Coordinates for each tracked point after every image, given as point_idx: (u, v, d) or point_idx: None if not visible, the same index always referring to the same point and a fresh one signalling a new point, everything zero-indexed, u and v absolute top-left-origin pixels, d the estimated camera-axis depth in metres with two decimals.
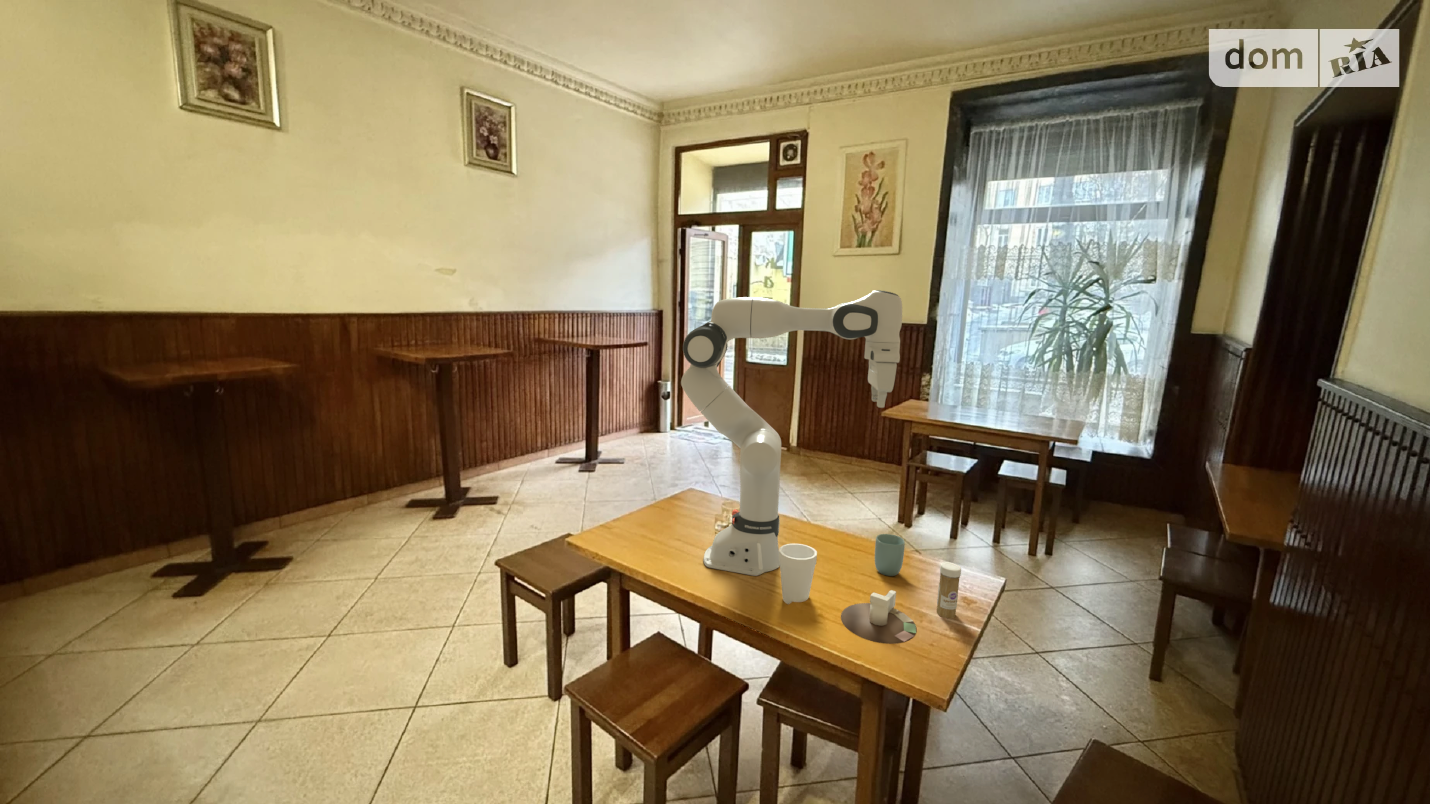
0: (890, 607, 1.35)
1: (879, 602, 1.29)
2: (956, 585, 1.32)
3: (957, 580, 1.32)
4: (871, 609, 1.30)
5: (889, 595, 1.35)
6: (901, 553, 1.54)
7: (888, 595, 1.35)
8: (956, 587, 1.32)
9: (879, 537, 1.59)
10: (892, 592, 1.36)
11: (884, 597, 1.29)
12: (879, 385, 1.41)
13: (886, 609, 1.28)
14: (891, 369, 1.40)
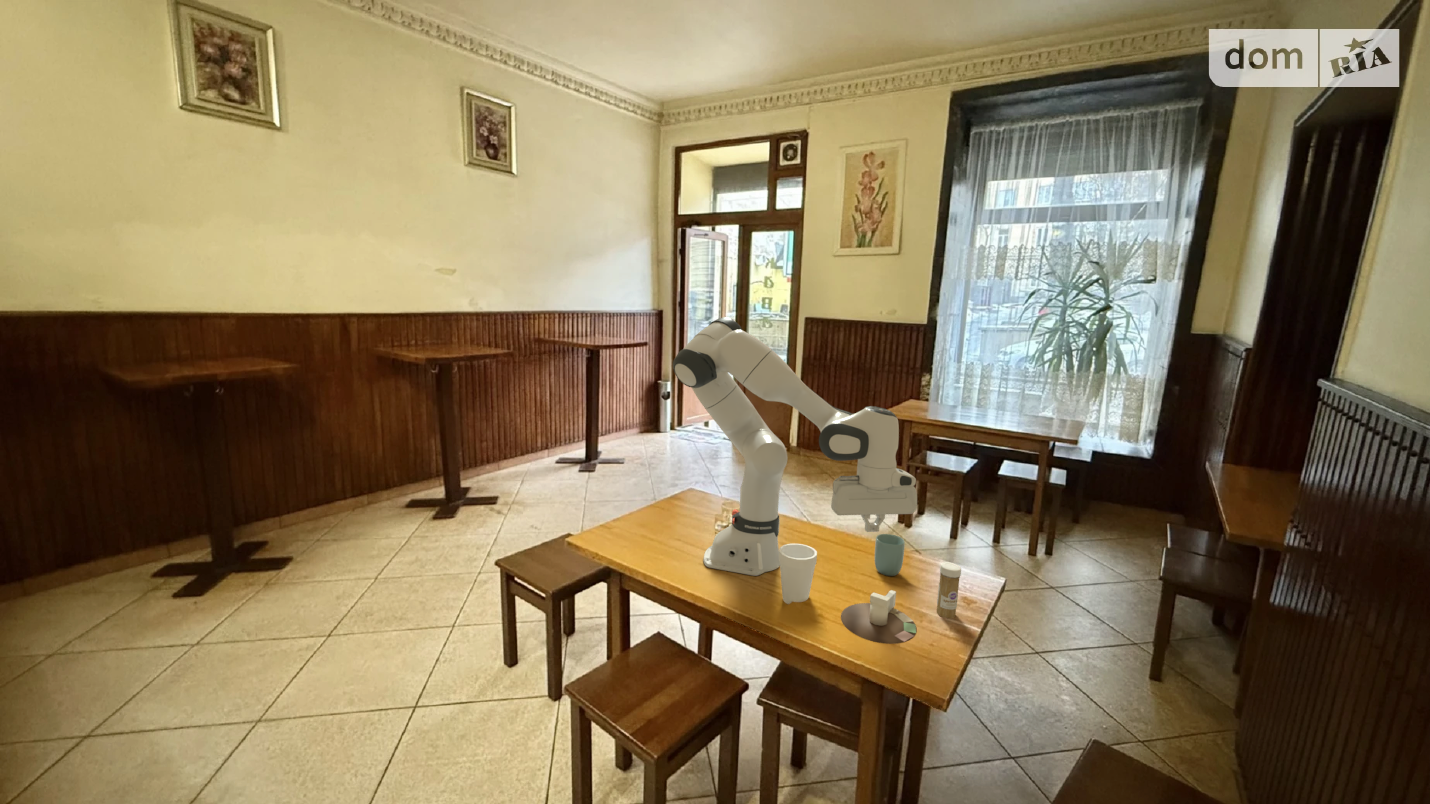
0: (890, 607, 1.35)
1: (879, 602, 1.29)
2: (956, 585, 1.32)
3: (957, 580, 1.32)
4: (871, 609, 1.30)
5: (889, 595, 1.35)
6: (901, 553, 1.54)
7: (888, 595, 1.35)
8: (956, 587, 1.32)
9: (879, 537, 1.59)
10: (892, 592, 1.36)
11: (884, 597, 1.29)
12: None
13: (886, 609, 1.28)
14: None
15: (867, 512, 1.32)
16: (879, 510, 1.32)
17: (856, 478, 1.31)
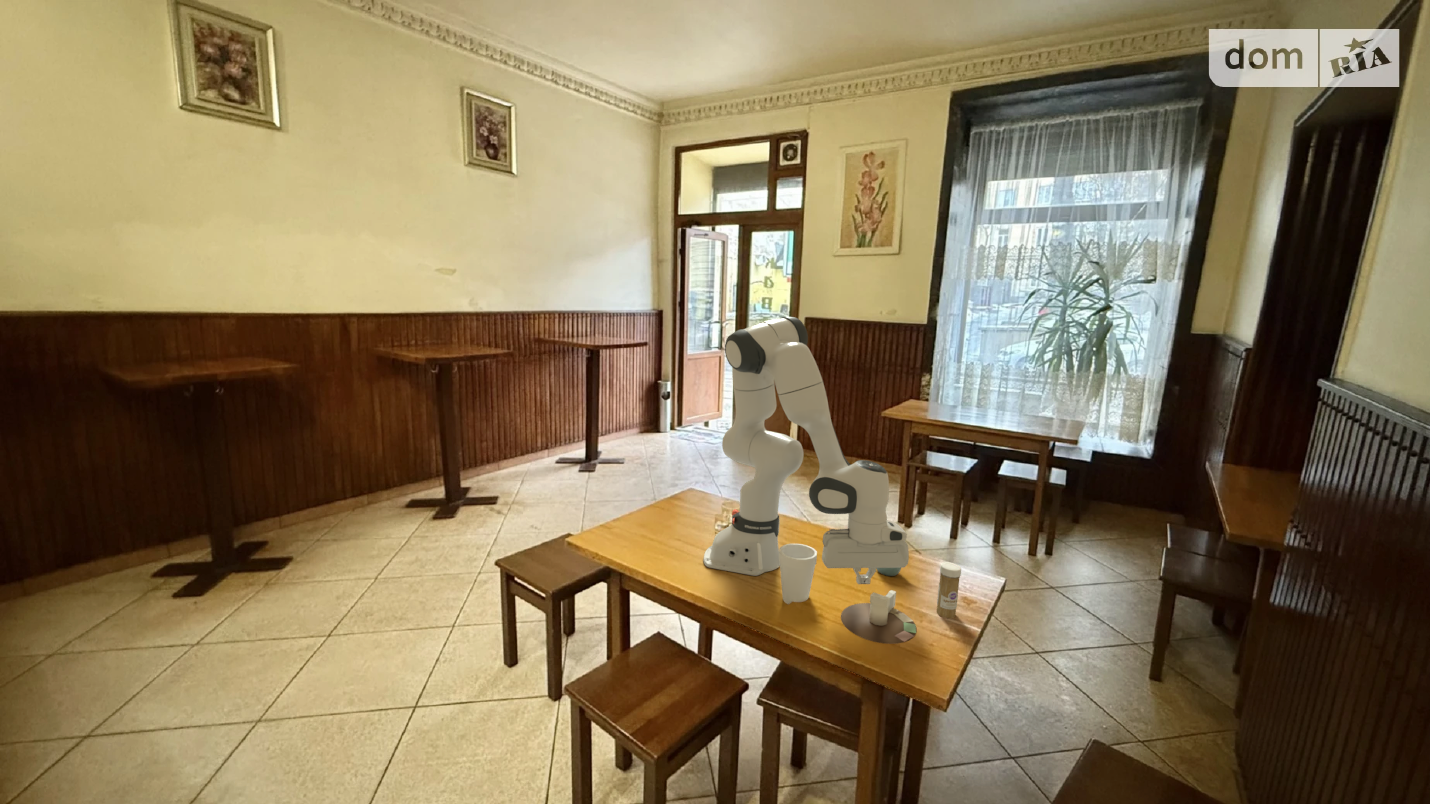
0: (890, 607, 1.35)
1: (879, 602, 1.29)
2: (956, 585, 1.32)
3: (957, 580, 1.32)
4: (871, 609, 1.30)
5: (889, 595, 1.35)
6: None
7: (888, 595, 1.35)
8: (956, 587, 1.32)
9: None
10: (892, 592, 1.36)
11: (884, 597, 1.29)
12: None
13: (886, 609, 1.28)
14: None
15: (857, 565, 1.32)
16: (869, 564, 1.32)
17: (846, 532, 1.32)
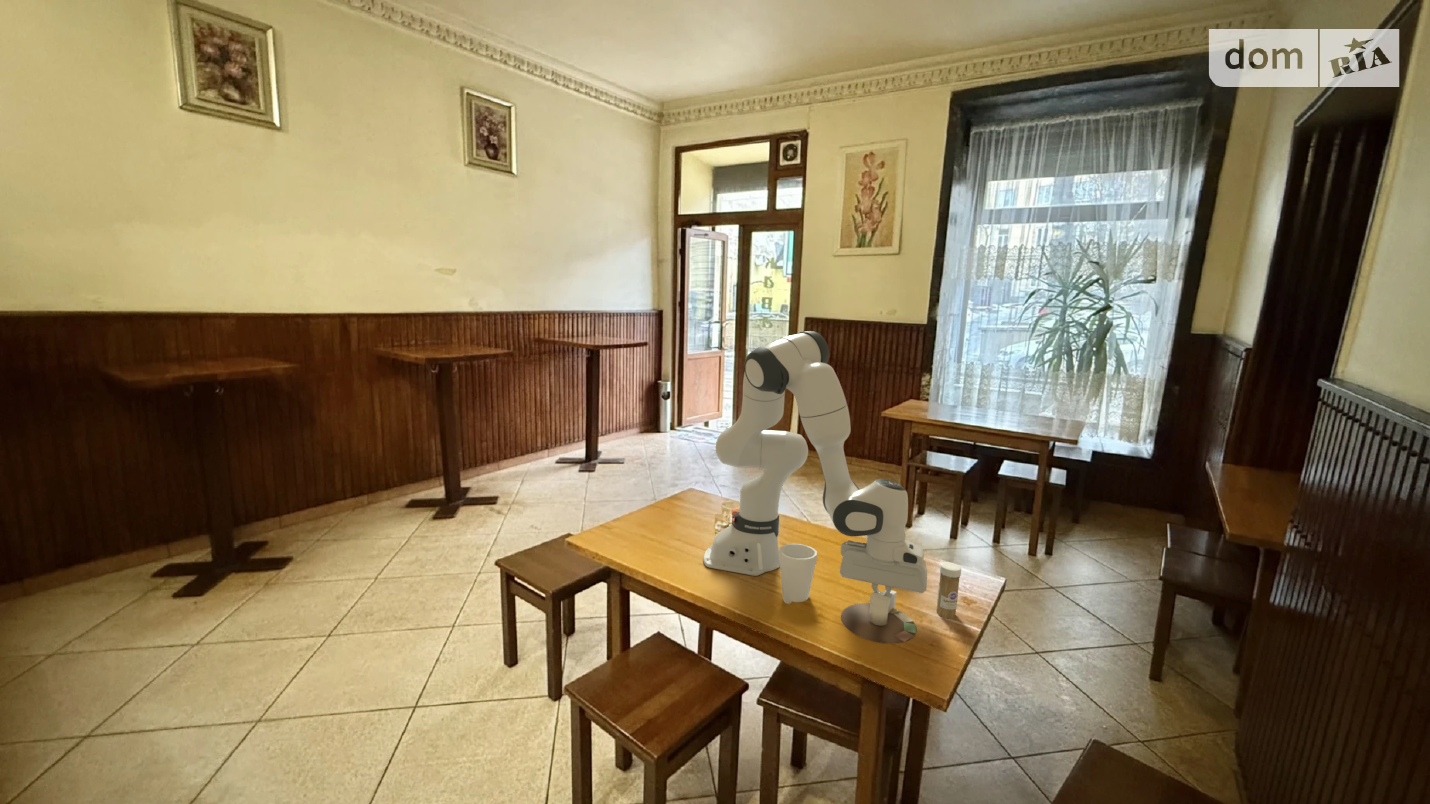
0: (890, 607, 1.35)
1: (879, 602, 1.29)
2: (956, 585, 1.32)
3: (957, 580, 1.32)
4: (871, 609, 1.30)
5: (890, 595, 1.35)
6: None
7: (888, 595, 1.35)
8: (956, 587, 1.32)
9: None
10: (893, 592, 1.36)
11: (884, 597, 1.29)
12: (926, 587, 1.30)
13: (886, 609, 1.28)
14: (925, 565, 1.33)
15: (872, 581, 1.35)
16: (884, 581, 1.34)
17: (863, 545, 1.36)
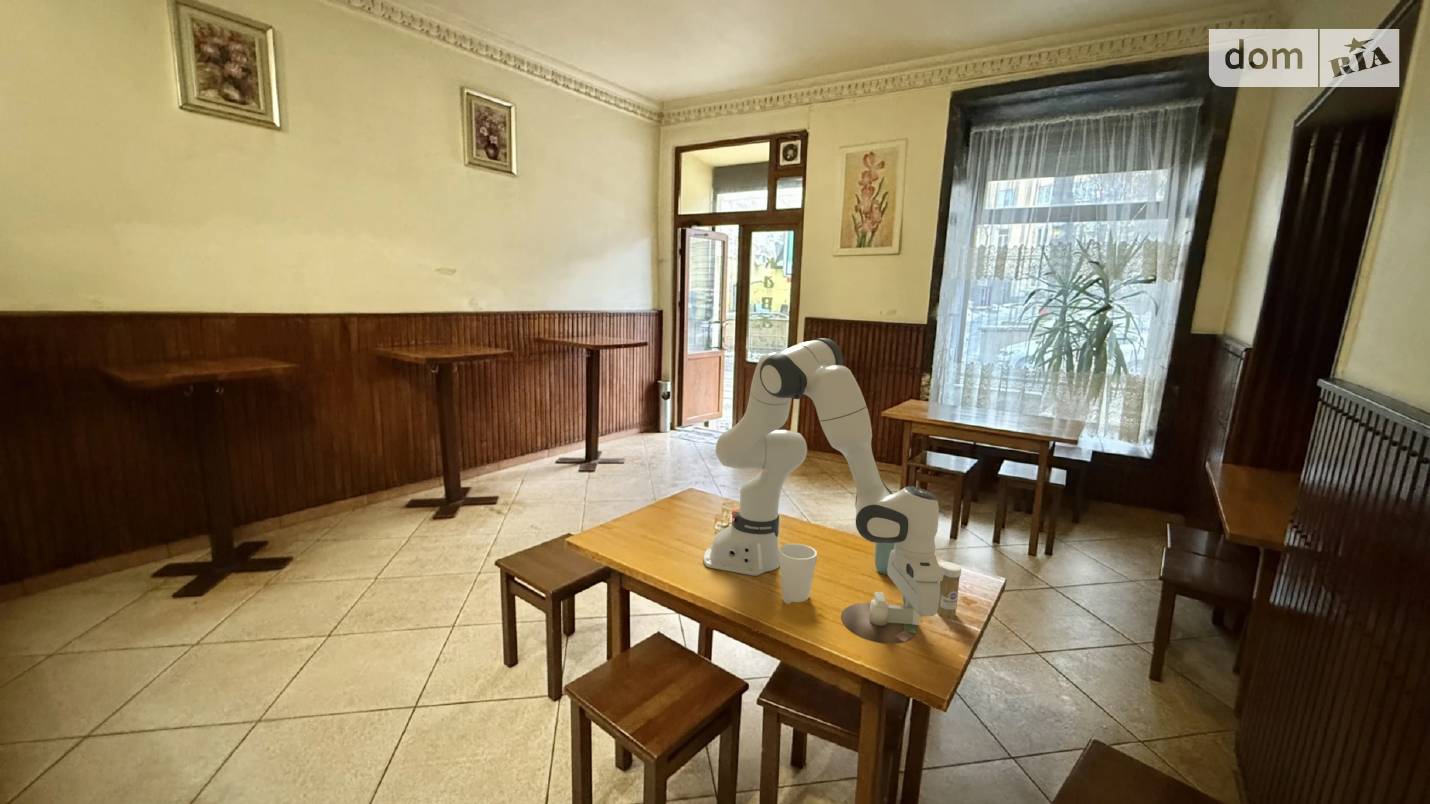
0: (905, 620, 1.29)
1: (876, 600, 1.29)
2: (956, 585, 1.32)
3: (957, 580, 1.32)
4: None
5: (907, 608, 1.29)
6: None
7: (906, 607, 1.29)
8: (956, 587, 1.32)
9: None
10: None
11: (881, 598, 1.29)
12: (922, 610, 1.20)
13: (878, 609, 1.28)
14: (935, 591, 1.20)
15: (898, 586, 1.32)
16: (903, 591, 1.29)
17: None
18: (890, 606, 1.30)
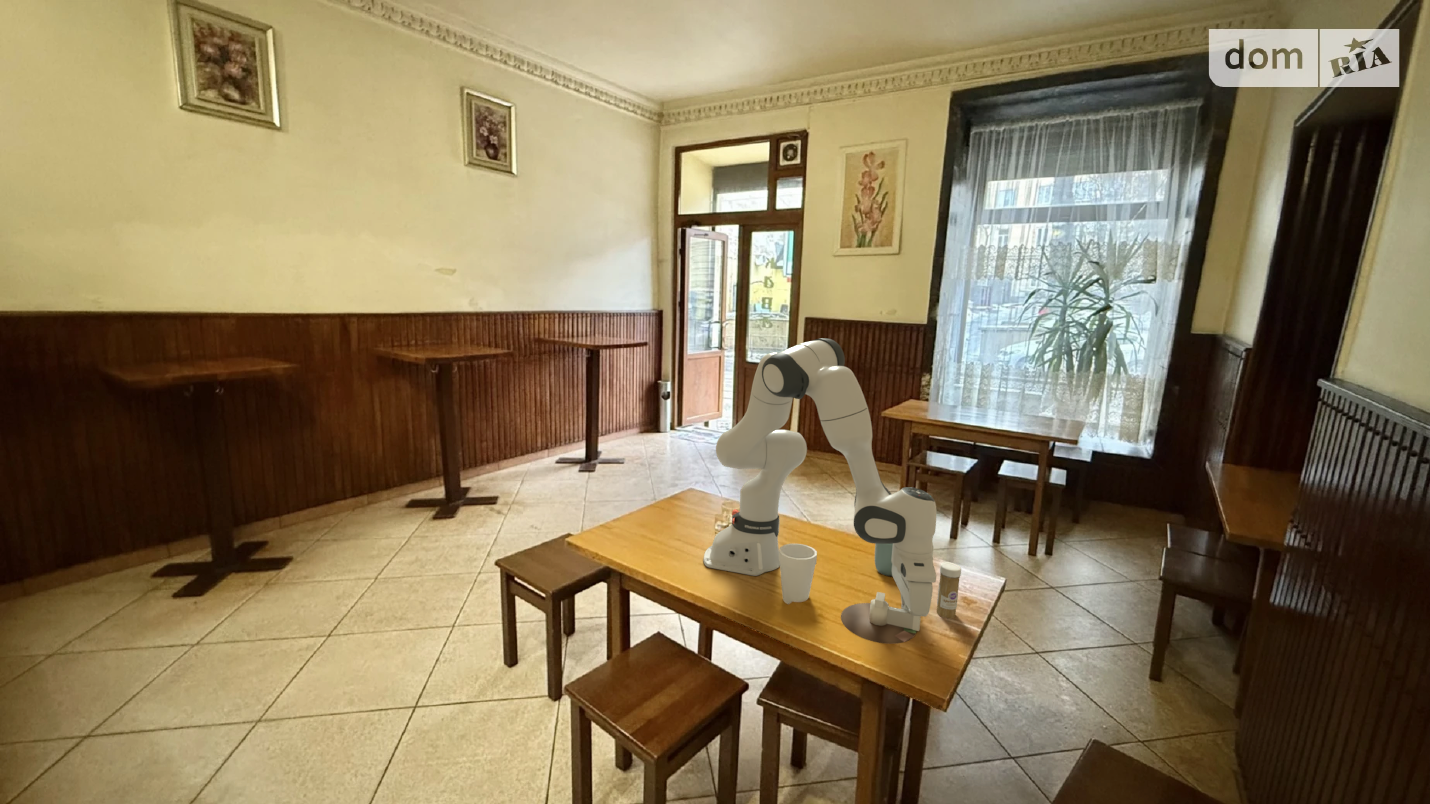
0: (905, 624, 1.28)
1: None
2: (956, 585, 1.32)
3: (957, 580, 1.32)
4: None
5: (908, 612, 1.27)
6: None
7: (907, 611, 1.28)
8: (956, 587, 1.32)
9: None
10: None
11: (880, 598, 1.29)
12: (913, 610, 1.21)
13: (875, 609, 1.28)
14: (927, 591, 1.21)
15: (898, 586, 1.33)
16: (901, 590, 1.30)
17: None
18: (890, 608, 1.29)
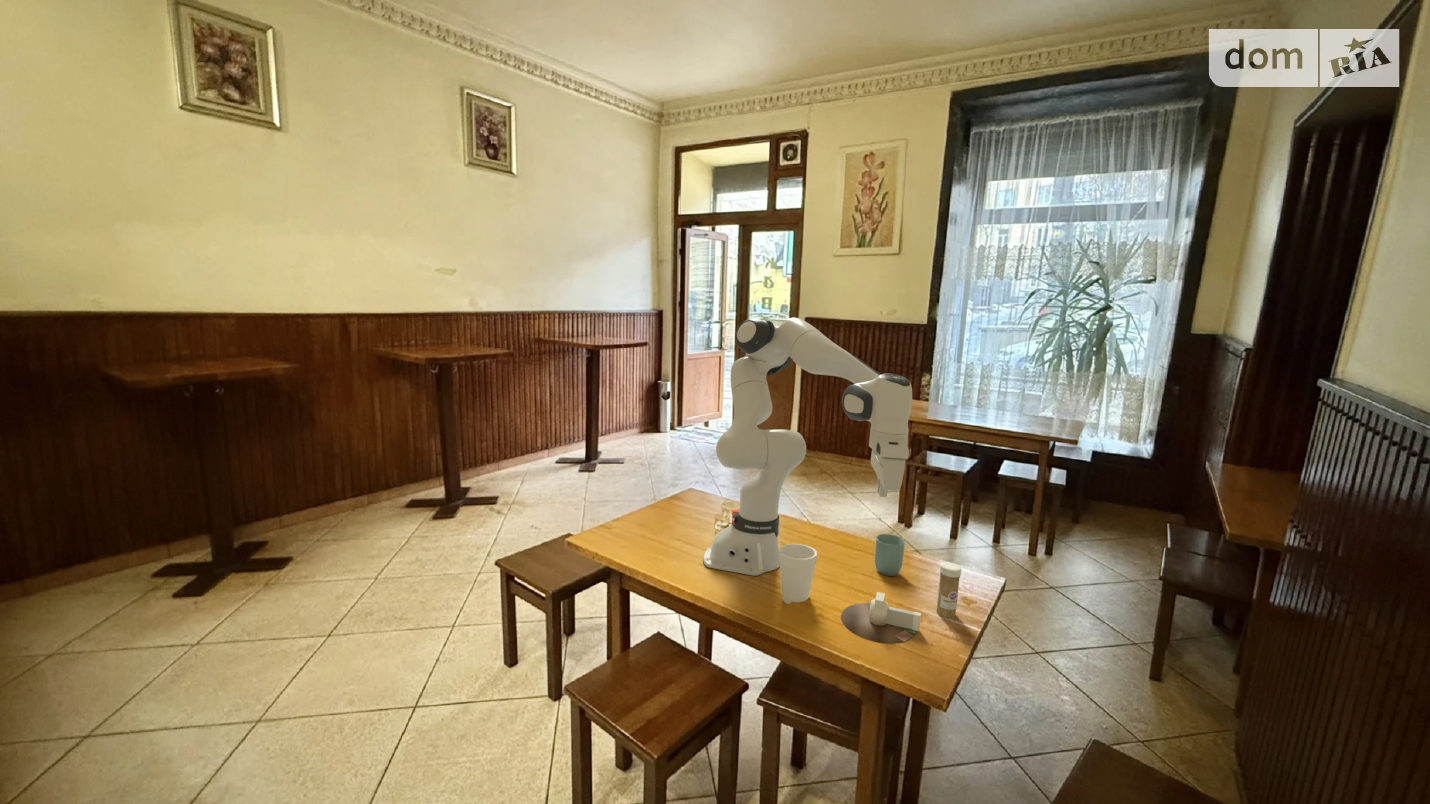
0: (905, 624, 1.27)
1: None
2: (956, 585, 1.32)
3: (957, 580, 1.32)
4: None
5: (908, 612, 1.27)
6: (901, 553, 1.54)
7: (907, 611, 1.28)
8: (956, 587, 1.32)
9: (879, 537, 1.59)
10: (917, 614, 1.27)
11: (880, 598, 1.29)
12: (886, 484, 1.28)
13: (875, 609, 1.28)
14: (900, 466, 1.28)
15: (875, 470, 1.40)
16: (877, 472, 1.38)
17: None
18: (890, 608, 1.29)
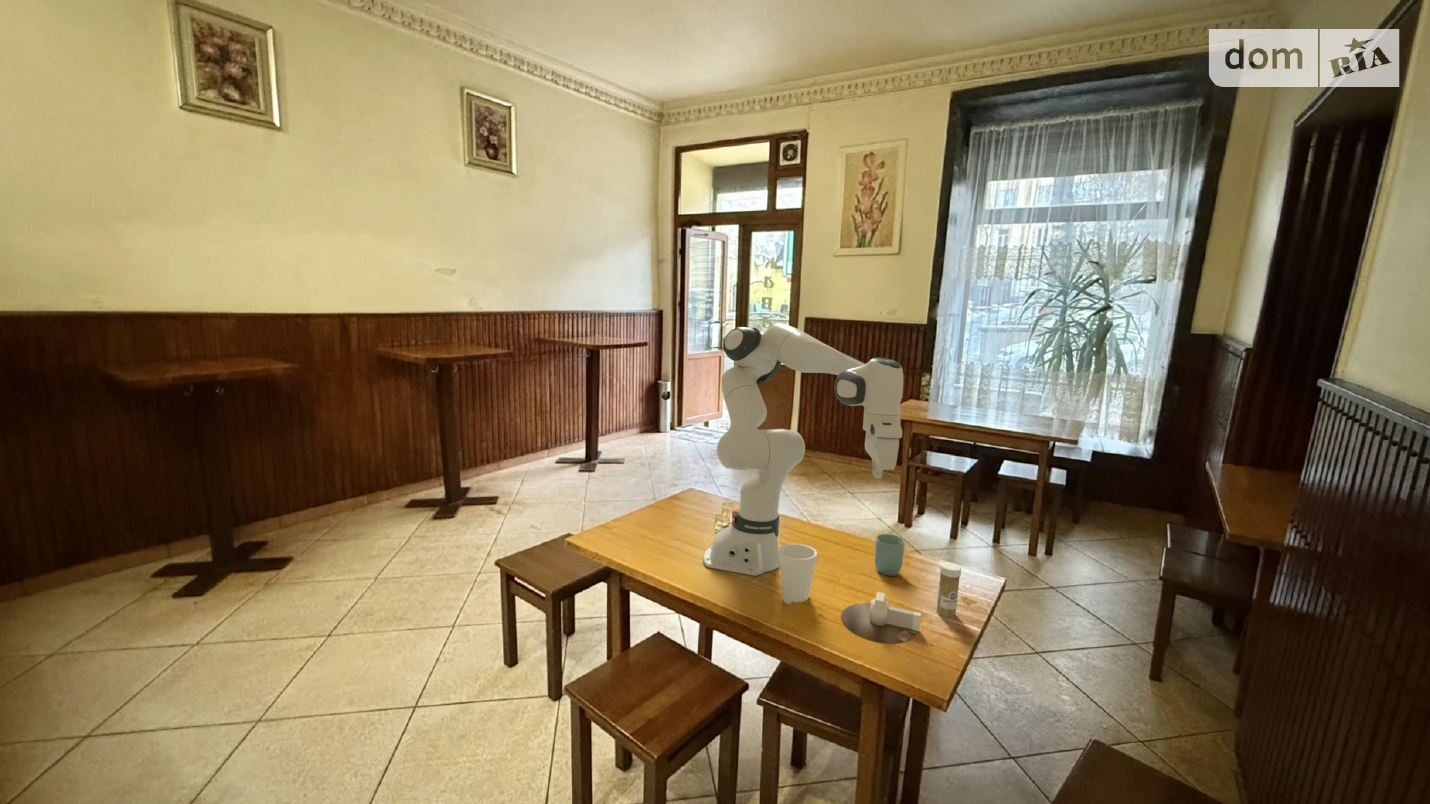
0: (905, 624, 1.27)
1: None
2: (956, 585, 1.32)
3: (957, 580, 1.32)
4: None
5: (908, 612, 1.27)
6: (901, 553, 1.54)
7: (907, 611, 1.28)
8: (956, 587, 1.32)
9: (879, 537, 1.59)
10: (917, 614, 1.27)
11: (880, 598, 1.29)
12: (881, 463, 1.31)
13: (875, 609, 1.28)
14: (894, 445, 1.31)
15: (869, 454, 1.44)
16: (872, 455, 1.41)
17: None
18: (890, 608, 1.29)
